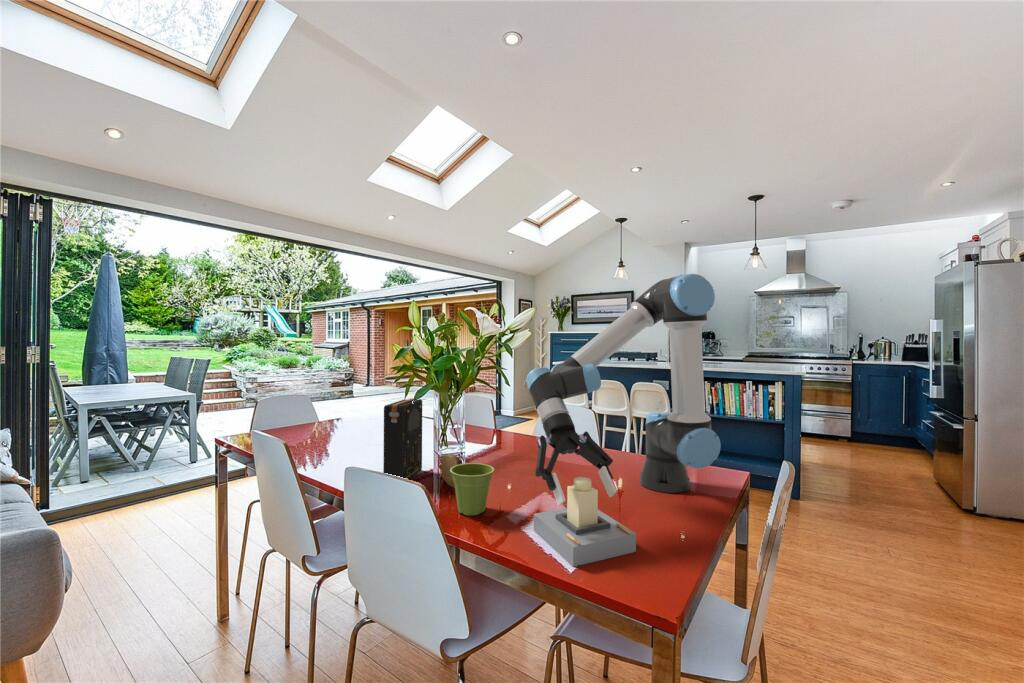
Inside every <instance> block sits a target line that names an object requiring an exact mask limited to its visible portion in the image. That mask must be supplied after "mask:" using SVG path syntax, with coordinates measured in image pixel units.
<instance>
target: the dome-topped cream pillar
mask: <svg viewBox="0 0 1024 683" xmlns="http://www.w3.org/2000/svg"><path fill="white" fill-rule="evenodd" d="M566 492H567V496H566V497H567V502H566V508H567V520H568V521H569V522H571V523H572V524H573V525H575V526H576V527H577V528H579V527H584V526H589V525H594V524H598V510H599V507H598V506H599V505H598V504H599V490H598V489H596V488H594V487H593V486H592V479H591V478H589V477H586V476H577V477H574V478H573V485H568V486H567V491H566Z"/></svg>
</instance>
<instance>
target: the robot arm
mask: <svg viewBox="0 0 1024 683" xmlns="http://www.w3.org/2000/svg"><path fill="white" fill-rule="evenodd" d="M715 298H716V296H715V290H714V287H713V285H712V284H711V283H710V281H709V280H707V279H706V278H705V276H702V275H701V274H697V273H684V274H680V275H676V276H673V277H670V278H666V279H662V280H659V281H657V282H656V283H654V284H653V285H652V286H650V287H649V288H648V289H646V290H645V291H644V292H643V293H642V294H641V295H639V296H638V297H637V298H636V299H634V301H632V302H631V303H630V308H628V309H627V311H625V312H624V313H622V314H621V315H620V316H619V317H617V319H615V320H614V321H612V322H611V323H610V324H608V326H606V327H605V328H604V329H603V330H601V331H600V332H599V333H598V334H596V335H595V336H594V337H593V338H592V339H590V340H589V341H588V342H587V343H585V345H583V346H582V347H581V348H579V349H578V350H577V351H575V352H574V353H573V354H572V355H570V357H568V358H567V359H565V360H564V361H563V362H561V363H557V364H555V365H554V366H552V368H551V369H550V368H548V367H545V366H544V367H543V366H540V367H539V366H538V367H535V368H533V369H532V370H530V371H529V373H528V374H527V376H526V379H525V382H526V385H527V389H528V393H529V395H530V396H531V399H532V401H533V405H534V407H535V409H536V412H537V415H538V417H539V420H540V422H541V425H542V428H543V431H544V433H545V436H544V435H540V437H539V439H538V440H537V443H536V444H537V448H538V452H537V453H538V454H537V459H536V460H537V461H536V465H535V466H536V467H535V477H537V478H539V477H541V478H542V480H543V481H545V482H546V484H547V487H548V489H549V491H552V492H553V495H554V498H555V501H556V504H557V506H558V507H560V506H562V505H563V504H564V503H565V502H566V497H565V494H564V492H563V490H562V486H561V484H560V480H559V479H558V475H557V473H556V472H553V470H554V467H555V465H556V462H557V460H558V457H559V455H560V454H561V455H562V456H563V455H566V454H576V455H577V456H580V457H582V458H583V459H585V460H586V461H587V462H589V463H590V464H591V465H593V466H594V467H596V468H597V469H598V471H597V473H598V475H599V477H600V479H601V482H602V484H603V487H604V489H605V491H606V493H607V495H608V498H612V497H613V496H614V495H615V494H616V492H618V490H617V488H616V486H615V484H614V482H613V479H614V477H613V474H612V473H611V472H612V471H611V470H610V466H611V464H613V461H614V460H613V459H612V457H611V456H610V455H609V454H608V453H607V452H605V450H604V449H602V447H601V446H600V445H599V444H598V443H597V442H595V441H594V439H593V438H592V436H591V435H590V433H589V432H588V431H586V430H585V431H584V432H583V433H581V434H579V433H577V431H576V427H575V423H574V422H573V420H572V417H571V415H570V413H569V410H568V408H567V406H566V403H565V402H564V400H566V399H570V398H573V397H577V396H582V395H585V394H590V393H592V392H595V391H598V390H600V389H601V385H602V380H601V375H600V372H599V369H598V366H600V365H601V364H603V362H605V361H606V360H608V358H610V357H611V356H612V355H613V354H615V353H616V352H617V351H618V350H620V349H621V348H622V347H623V346H624V345H626V344H627V343H628V342H630V341H631V340H632V339H633V338H634V337H636V336H637V335H638V334H639V333H641V332H642V331H643V330H644V329H646V327H648V328H652V327H653V326H654V325H656V324H657V323H658V322H659V323H660V321H663V325H664V326H665V327H666V328H668V331H669V332H668V334H669V337H668V338H669V355H670V360H669V361H670V382H671V401H672V402H671V405H672V411H671V412H670V411H669V412H664V411H663V412H650V413H648V414H647V415H646V418H645V419H646V420H645V423H644V424H645V461H644V463H643V466H642V469H641V472H640V474H639V484H640V485H641V486H643V487H644V488H646V489H649V490H652V491H655V492H660V493H667V494H668V493H669V494H671V493H672V494H676V493H685V492H687V491H689V490H690V489H691V479H690V478H689V474H688V471H687V467H690V468H691V469H703V468H707V467H709V466H710V465H711V464H712V465H713V463H714V461H715V460H717V459H718V457H719V455H720V452H721V448H722V446H721V445H722V444H721V440H720V437H719V436H718V434H717V433H716V432H715V431H714V430H712V418H711V417H710V416H709V415H708V414H707V413H706V406H705V385H704V384H705V382H704V381H705V380H704V360H703V358H704V356H703V355H704V354H703V335H702V334H703V332H702V328H703V327H704V325H705V324H706V323H707V322H708V312H709V311H711V309H712V308H713V305H714V304H715V300H716V299H715ZM548 445H549V446H551V448H553V450H552V453H551V454H550V457H549V458H550V459H549V461H548V463H547V464H546V466H545V463H546V461H545V460H546V454H547V449H548V448H547V447H548ZM578 447H579V448H578ZM686 466H687V467H686ZM545 467H546V468H545Z"/></svg>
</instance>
